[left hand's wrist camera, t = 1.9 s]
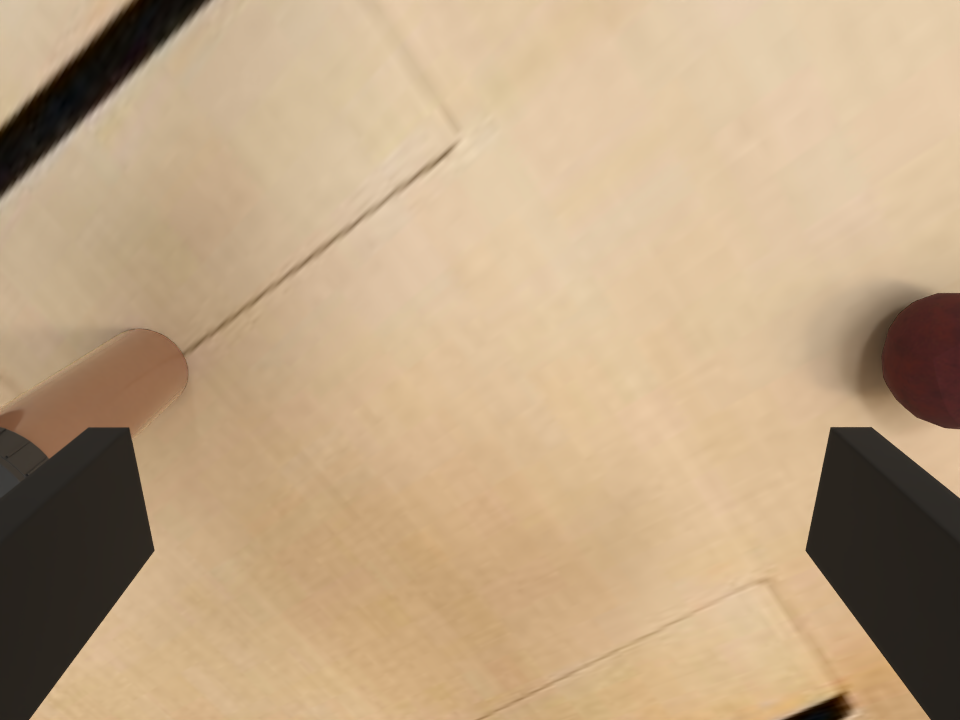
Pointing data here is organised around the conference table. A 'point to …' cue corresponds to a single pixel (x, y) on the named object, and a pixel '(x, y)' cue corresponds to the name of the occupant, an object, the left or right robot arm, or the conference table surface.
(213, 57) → the conference table surface
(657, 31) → the conference table surface
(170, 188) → the conference table surface
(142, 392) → the jar
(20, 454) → the lid
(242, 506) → the conference table surface
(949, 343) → the dark red ball
